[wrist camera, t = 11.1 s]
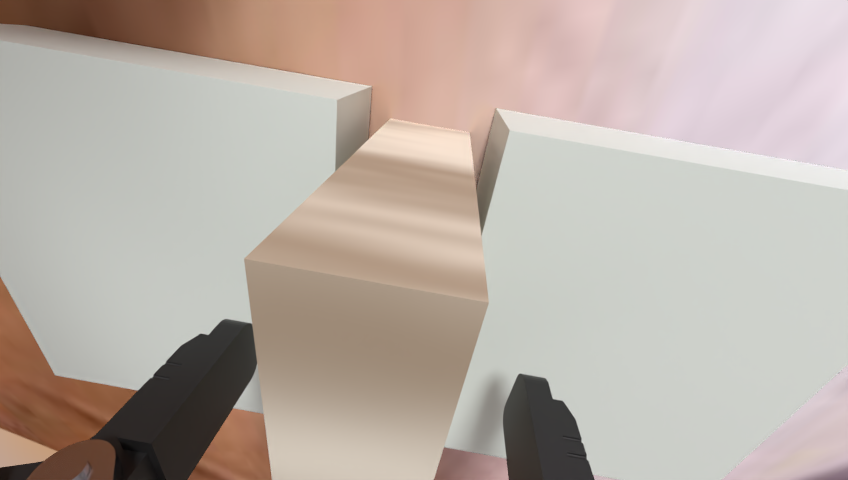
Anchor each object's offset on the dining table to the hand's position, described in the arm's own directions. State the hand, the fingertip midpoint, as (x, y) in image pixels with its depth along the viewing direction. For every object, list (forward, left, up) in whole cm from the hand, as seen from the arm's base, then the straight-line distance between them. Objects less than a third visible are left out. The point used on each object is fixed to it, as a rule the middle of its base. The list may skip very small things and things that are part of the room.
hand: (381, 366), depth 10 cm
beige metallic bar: (0, 0, -6) cm, 6 cm away
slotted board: (0, 0, -6) cm, 6 cm away
